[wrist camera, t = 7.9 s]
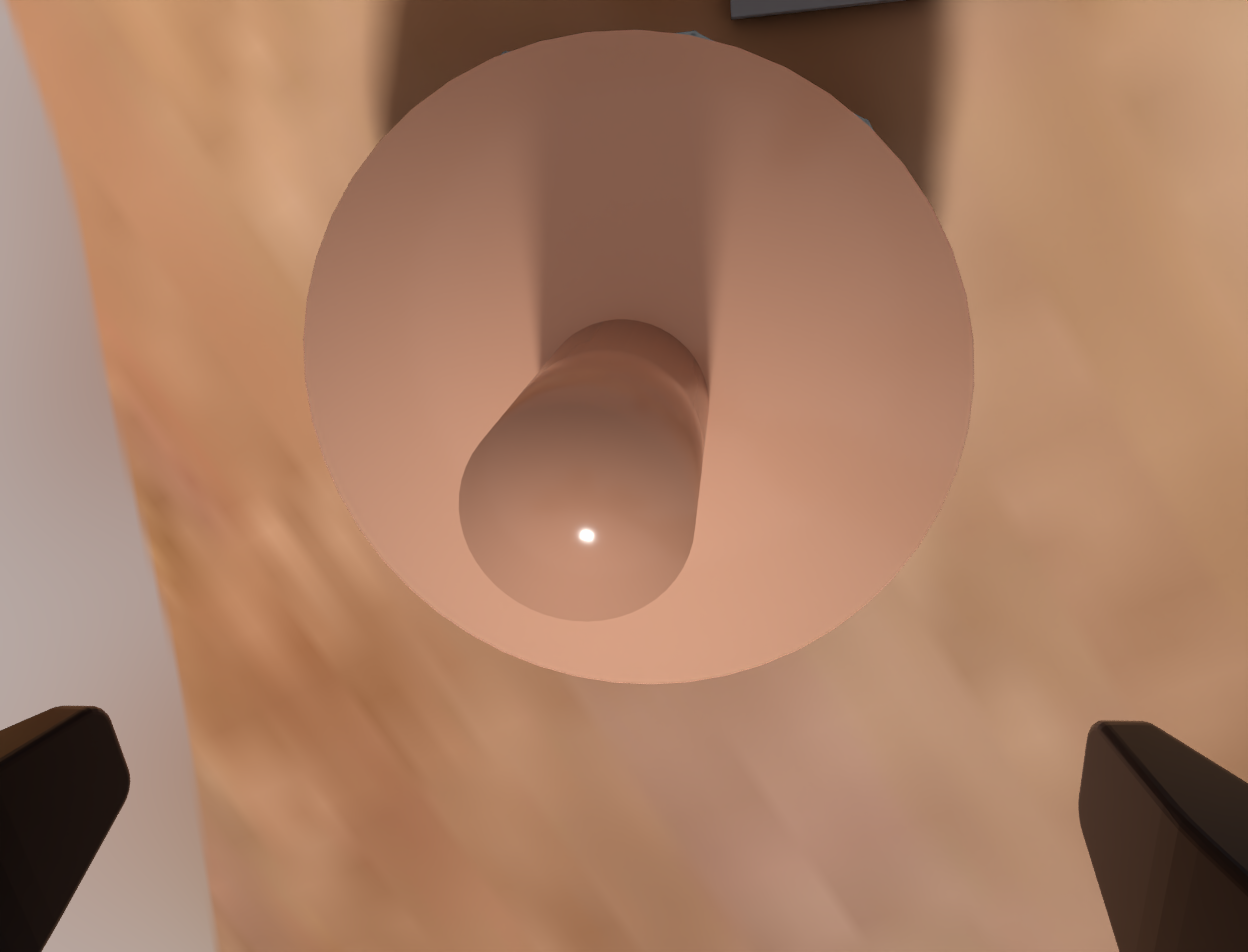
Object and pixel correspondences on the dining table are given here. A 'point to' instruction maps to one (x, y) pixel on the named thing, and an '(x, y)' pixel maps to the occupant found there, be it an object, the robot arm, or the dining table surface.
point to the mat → (790, 6)
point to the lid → (638, 357)
